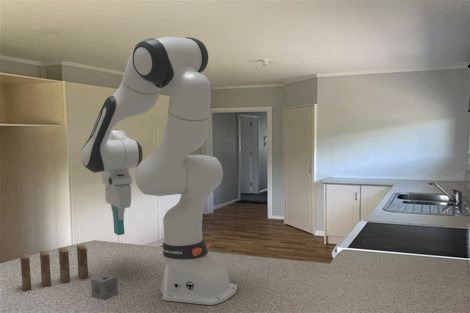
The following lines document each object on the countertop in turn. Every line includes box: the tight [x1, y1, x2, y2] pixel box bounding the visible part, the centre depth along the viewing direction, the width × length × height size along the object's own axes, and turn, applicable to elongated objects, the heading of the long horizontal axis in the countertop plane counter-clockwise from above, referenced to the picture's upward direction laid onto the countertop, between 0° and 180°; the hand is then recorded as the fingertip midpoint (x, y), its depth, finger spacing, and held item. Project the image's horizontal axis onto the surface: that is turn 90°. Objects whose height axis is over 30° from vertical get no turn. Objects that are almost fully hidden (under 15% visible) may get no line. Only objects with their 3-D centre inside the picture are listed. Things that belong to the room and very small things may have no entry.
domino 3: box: [58, 247, 71, 284], centre depth 130 cm, size 2×5×10 cm, turn 30°
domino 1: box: [19, 253, 32, 292], centre depth 125 cm, size 2×5×10 cm, turn 30°
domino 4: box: [76, 244, 89, 281], centre depth 133 cm, size 2×5×10 cm, turn 31°
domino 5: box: [112, 206, 125, 236], centre depth 140 cm, size 2×5×10 cm, turn 30°
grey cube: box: [90, 273, 119, 300], centre depth 117 cm, size 5×5×5 cm
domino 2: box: [39, 250, 52, 288], centre depth 128 cm, size 2×5×10 cm, turn 31°
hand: (118, 218), depth 140 cm, fingers closed on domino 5, 5 cm apart
